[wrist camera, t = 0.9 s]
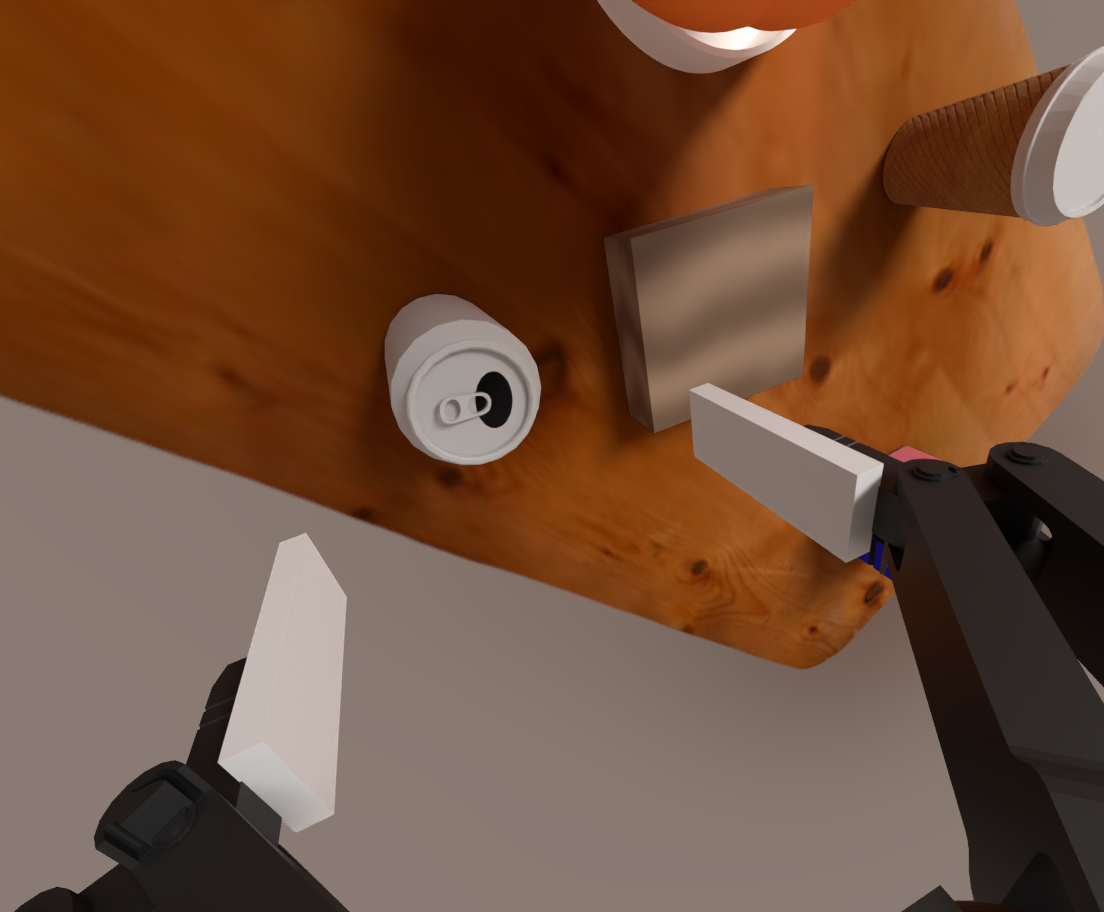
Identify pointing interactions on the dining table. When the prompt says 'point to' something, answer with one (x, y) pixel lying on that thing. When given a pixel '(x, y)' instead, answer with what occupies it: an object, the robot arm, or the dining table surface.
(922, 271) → the dining table surface
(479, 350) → the can
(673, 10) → the potted cactus
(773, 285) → the plinth
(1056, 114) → the disposable coffee cup
